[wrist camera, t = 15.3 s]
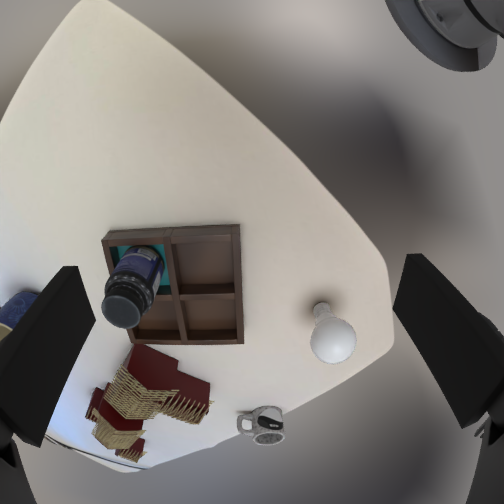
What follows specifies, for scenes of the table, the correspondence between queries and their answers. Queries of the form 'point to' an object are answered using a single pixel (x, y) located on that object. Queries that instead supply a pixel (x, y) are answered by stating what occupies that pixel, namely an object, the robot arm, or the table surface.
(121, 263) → the pill bottle
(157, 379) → the toy houses
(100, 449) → the table surface
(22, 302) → the planter
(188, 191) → the table surface
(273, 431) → the mug
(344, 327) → the lightbulb
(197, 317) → the wooden box
